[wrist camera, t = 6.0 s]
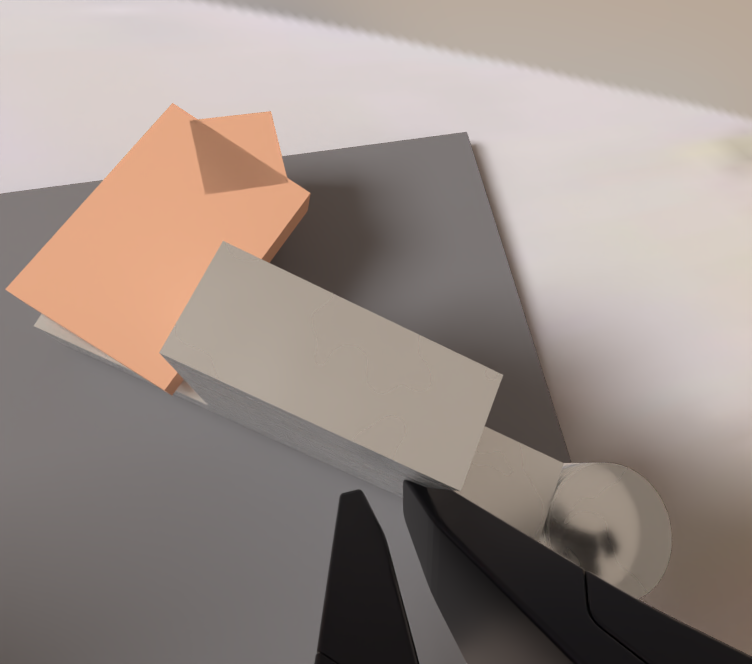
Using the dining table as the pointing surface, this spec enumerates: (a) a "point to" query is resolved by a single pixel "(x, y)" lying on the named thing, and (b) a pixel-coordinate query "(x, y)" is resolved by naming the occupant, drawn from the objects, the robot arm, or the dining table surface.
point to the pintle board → (201, 426)
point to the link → (393, 413)
